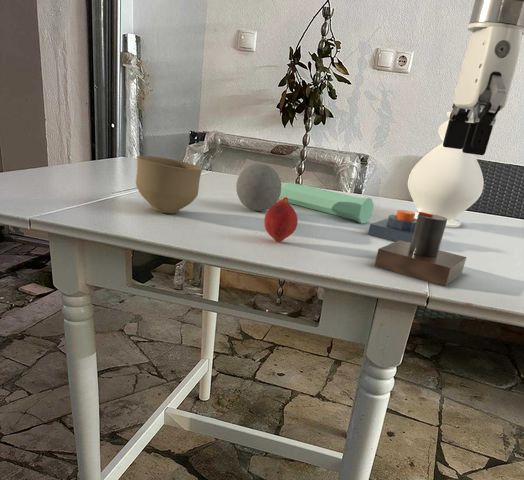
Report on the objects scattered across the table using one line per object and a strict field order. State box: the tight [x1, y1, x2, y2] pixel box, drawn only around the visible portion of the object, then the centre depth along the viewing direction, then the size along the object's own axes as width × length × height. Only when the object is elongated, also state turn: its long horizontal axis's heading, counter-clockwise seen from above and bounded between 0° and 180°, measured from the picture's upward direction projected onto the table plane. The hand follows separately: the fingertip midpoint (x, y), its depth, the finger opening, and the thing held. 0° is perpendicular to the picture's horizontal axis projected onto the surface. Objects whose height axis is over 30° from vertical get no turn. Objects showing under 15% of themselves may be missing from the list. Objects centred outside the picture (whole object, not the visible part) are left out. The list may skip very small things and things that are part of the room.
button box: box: [367, 214, 417, 243], centre depth 106 cm, size 11×9×4 cm
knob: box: [409, 212, 447, 257], centre depth 83 cm, size 5×5×6 cm
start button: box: [395, 209, 416, 221], centre depth 105 cm, size 4×4×2 cm
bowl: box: [135, 155, 203, 215], centre depth 100 cm, size 13×13×10 cm
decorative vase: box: [407, 111, 485, 228], centre depth 123 cm, size 18×18×25 cm
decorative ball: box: [235, 163, 282, 212], centre depth 112 cm, size 10×10×10 cm
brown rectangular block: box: [374, 240, 467, 287], centre depth 85 cm, size 12×10×3 cm
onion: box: [264, 197, 299, 243], centre depth 89 cm, size 6×6×8 cm
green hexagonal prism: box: [279, 181, 374, 224], centre depth 122 cm, size 6×6×25 cm
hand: (462, 150), depth 78 cm, fingers open, 9 cm apart
